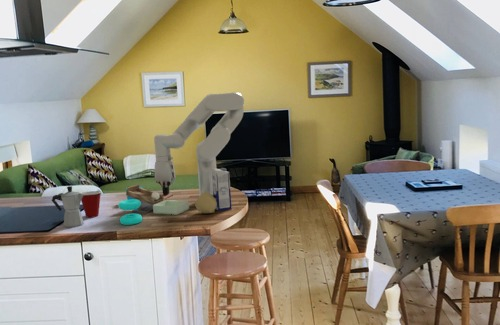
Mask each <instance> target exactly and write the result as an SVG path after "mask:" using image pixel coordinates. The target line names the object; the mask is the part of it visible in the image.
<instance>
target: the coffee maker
mask: <svg viewBox="0 0 500 325" xmlns="http://www.w3.org/2000/svg"><path fill="white" fill-rule="evenodd" d="M66 189H67V192H65V193H63V192H60V193H58V194H55V195H53V196H52V198H51V201H52V202H51V203H53V205H55V206H56V208H57V210H58V211H59V212H61V211H62V207H63V209H64V210H65V211H64V212H63V213H64V214H63V227H64V228H67V229H69V228H76V227H81V226H83V225H84V224H85V222H84V219H83V215H82V212H81V210H80V208H81V203H82V201H81V200H82V197H83V195H84V194H80V193H81V192H79V191H73V186H72V185H70V186H66ZM56 200H57V201H61V203H62V207H61V205H60V204H58V202H57V201H56Z"/></svg>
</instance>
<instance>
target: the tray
mask: <svg viewBox="0 0 500 325" xmlns="http://www.w3.org/2000/svg"><path fill="white" fill-rule="evenodd" d="M188 210H190V202H189V201H188V200H173V199H171V200H170V199H164V200H163V201H161V202H159V203H156V204H154V205H153V210H152V211H153V214H155V215H170V216H171V214H172V215H173V216H177V215H180V214H181V213H184V212H186V211H188Z"/></svg>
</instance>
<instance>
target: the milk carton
mask: <svg viewBox="0 0 500 325" xmlns="http://www.w3.org/2000/svg"><path fill="white" fill-rule="evenodd" d="M211 170H212V184H213V195H215V197H216V202H217V206H216V208H215V210H217V211H218V212H221V211H228V210H232V209H233V208H232V194H231V180H230V171H227V168H225V167H221V168H216V169H214V168H211Z"/></svg>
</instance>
